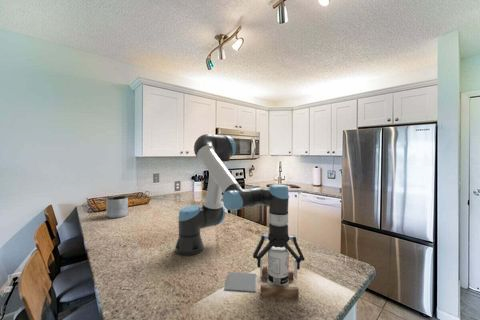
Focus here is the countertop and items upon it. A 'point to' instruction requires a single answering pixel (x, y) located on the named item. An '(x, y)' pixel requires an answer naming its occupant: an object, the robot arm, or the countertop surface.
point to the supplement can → (278, 266)
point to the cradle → (278, 287)
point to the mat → (240, 282)
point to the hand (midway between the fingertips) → (278, 276)
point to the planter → (116, 206)
